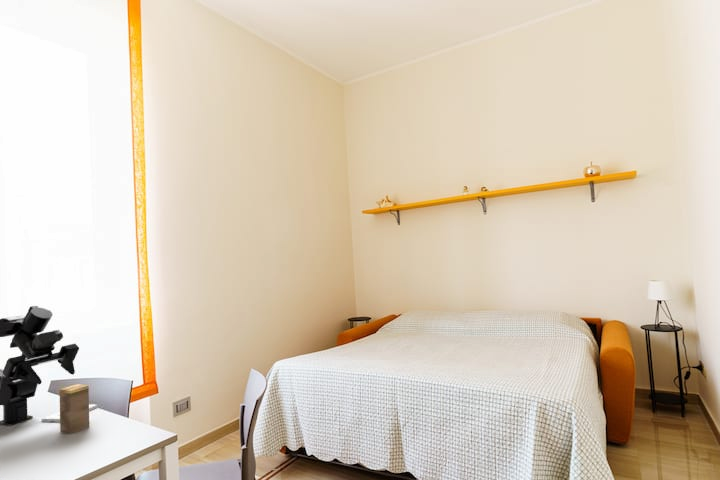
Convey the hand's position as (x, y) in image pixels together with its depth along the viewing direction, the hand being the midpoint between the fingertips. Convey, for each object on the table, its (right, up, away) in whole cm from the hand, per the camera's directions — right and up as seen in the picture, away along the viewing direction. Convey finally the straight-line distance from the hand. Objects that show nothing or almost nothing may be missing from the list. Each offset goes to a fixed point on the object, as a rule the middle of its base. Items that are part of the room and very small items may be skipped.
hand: (57, 378), depth 123 cm
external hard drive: (-3, -16, +10) cm, 18 cm away
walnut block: (+8, -14, -4) cm, 16 cm away
